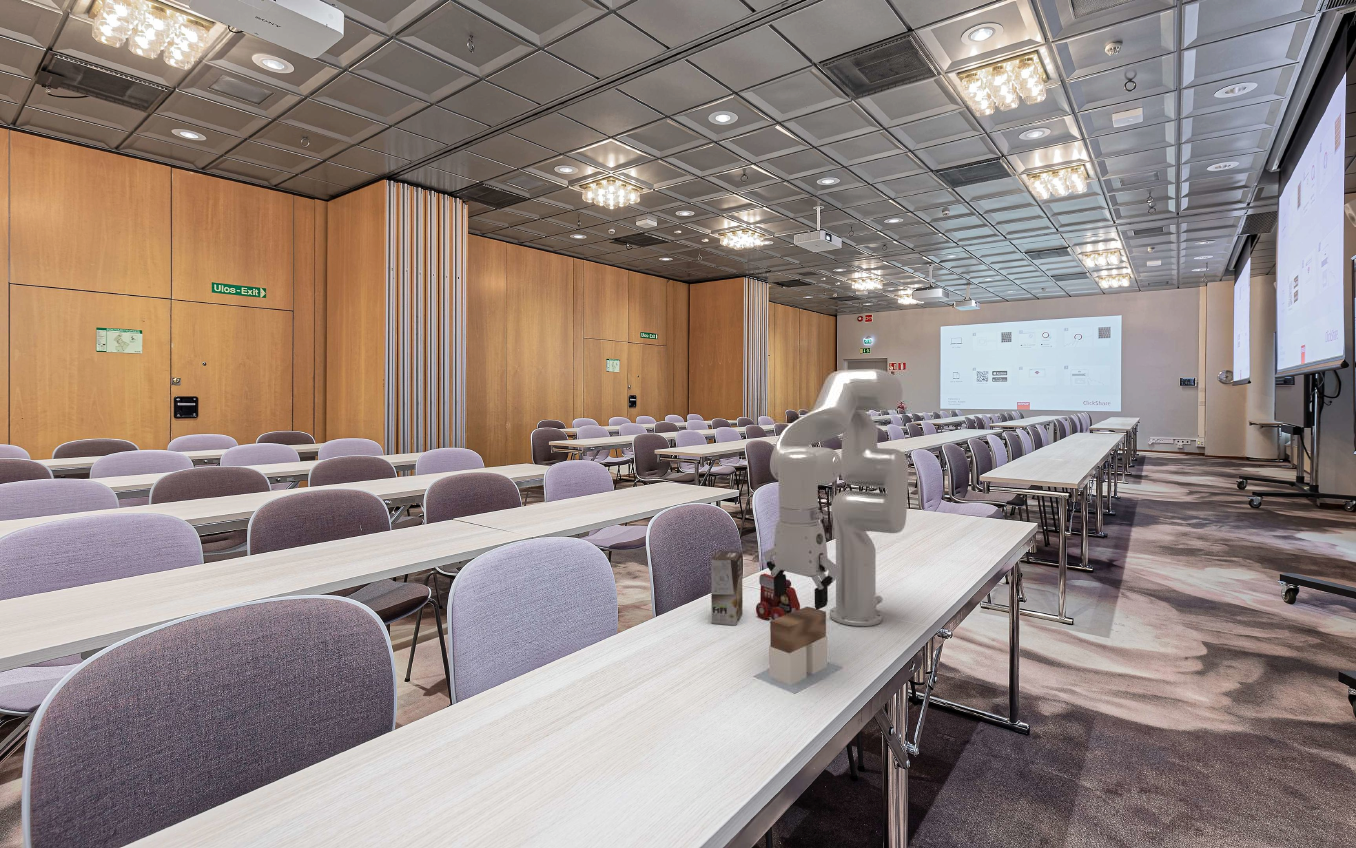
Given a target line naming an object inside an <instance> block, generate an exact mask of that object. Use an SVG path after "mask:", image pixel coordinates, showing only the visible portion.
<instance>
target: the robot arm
mask: <svg viewBox="0 0 1356 848" xmlns="http://www.w3.org/2000/svg"><path fill="white" fill-rule="evenodd" d="M902 398H903V386H902V383H901V381H900V379H899V378H898V377H897V376H896V375H895V374H893V373H892V372H891V373H890V372H888V371H886V370H882V369H877V368H867V369H866V368H864V369H862V368H861V369H860V368H859V369H842V370H841V369H840V370H837V371H834V372H832V373H830V374H829V375H828V376H827V377H826V378H825V381H824V383H823V386H822V388H821V390H820V392H819V395H818V397H817V399H816V402H815V403H814V406H813V408H812V410H811V411H809V412H807V413H805V414H804V415H802V416H800V417H799V418H798V419H796V420H795V421H793V422H792V423H790V424H789V425H788V426H786V427H785V428H784V429H783V430H782V432H780V435H779V437H778V438H777V440H776V443H775V444H774V447H773V449H772V452H771V455H770V460H769V470H770V473H771V476H773V477H774V479H775V480H777V482H778V520H776V524H775V531H774V540H773V541H774V542H773V547H772V548H770V549H768V550H765V551H763V553H762V555H763V558H764V560H765V562H766V563H765V564H766V567H767V568H768V570H769V571H770V575H771V576H772V577H774V596H775V597H780V596H782V595H784V594H786V579H787V575H786V574H785V572H787V573H791V574H796V575H798V576H799V575H800V576H803V577H807V578H811V579H812V581H813V582H814V584H815V586H816V587H815V588H814V591H813V592H814V608H815V609H818V610H821V609H823V608H825V607H827V606H828V601H829V595H828V592H829V591H828V588H829V586H831V585H832V583H833V582H835V606H834V607H832V608H831V609H830V610H829V618H830V619H832V620H833V621H835V622H837V623H838V624H843V625H846V626H853V627H871V626H875V625H878V624H881V622H882V621H883V614H882V613H881V612H880V611H879V610H877V606H878V605H879V604H881V603H882V602H884V601H883V597H882V596H881V595H876V594H877V593H876V591H877V590H876V588H877V587H876V586H877V583H876V581H877V580H876V579H877V578H876V575H877V574H876V569H877V568H876V565H877V564H876V561H877V560H876V557H877V556H876V551H877V550H876V547H875V544H874V542H873V540H872V538H871V537H870V536H869V534H868V533H867V532H873V533H883V534H899V533H901V532H902V531H903V530H904V528H905V526H906V522H907V510H908V487H909V465H908V464H909V463H908V460H907V457H906V455H905V453H904V452H903V451H901V450H899V449H897V448H896V449H895V448H885V447H884V448H880V447H879V448H878V435H879V432H878V431H879V430H878V426H877V424H876V423H875V421H874V420H873V418H872V417H871V416H870V415H869V414H868V413H867V411H894V410H895V409H897V408H898V407H899V406H900V404H901V402H902ZM840 435H842V436H841V437H842V438H841V439H842V440H841V457H840V455H839V453H838V451H836V450H834V449H833V448H828V447H821V446H811V445H813V444H816V443H820V442H823V441H827V440H830V439H833V438H835V437H838V436H840ZM840 476H841V479H842V481H844V483H846V484H848V485H850V486H851V485H852V486H860V487H873V488H875V487H876V488H884V489H885V490H886V492H877V491H876V492H873V491H865V490H863V491H862V490H844V491H841V492H839V493H836V495H835V496H834V497H833V498H832V501H831V515H832V520H833V526H834V534H835V538H834V539H835V562H833V561H832V560H831V559H829V557H828V547H827V540H826V539H827V538H826V533H825V530H824V525H823V523H822V522H819V520H820V521H821V520H823V518H824V515H823V514H824V513H822V512H819V492H818V491H819V489H818V487H819V486H826V485H829V484H832V483H834V482H835V481H837V479H838V478H839V477H840ZM827 572H828V573H827ZM826 573H827V575H826Z"/></svg>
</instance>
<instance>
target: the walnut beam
mask: <svg viewBox="0 0 1356 848" xmlns="http://www.w3.org/2000/svg"><path fill="white" fill-rule="evenodd" d="M769 623H770V628H769V629H770V630H769V632H770V633H769V635H770V639H769V640H770V643H769V644H770V645H769V646H770V647H773V648H776V649H778V650H781V651H784V652H787V653H792V652H794V651H796V650H798V649H800V648H802V647H804V646H807V645H809V644H811V643H813V642H815V641H817V640H819V639H822V638H824V637H827V611H825V610H823V609H822V610H821V609H816V608H815V607H811V606H804V607H802V608H800V609H799V610H797V611H794V612H792V613H789V614H787V615H784V616H782V617H779V618H776V619H774V620H772V619H771V620H770V622H769Z"/></svg>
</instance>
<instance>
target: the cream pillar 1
mask: <svg viewBox="0 0 1356 848" xmlns="http://www.w3.org/2000/svg"><path fill="white" fill-rule="evenodd" d="M768 649H769V650H768V651H769V654H768V656H769V663H768V665H769V668H768V669H769V677H771V678H773V679H776V680H778V681H780V682H783V683H785V684H788V685H790V686H791V685H793V684H795V683H797V682H798V681H800V680H802V679H804V678H806V646H804V647H802V648H800V649H798V650H796V651H794V652H792V653H787V652H784V651H781V650H778V649H776V648H773V647H770V645H768Z"/></svg>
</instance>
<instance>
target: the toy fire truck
mask: <svg viewBox="0 0 1356 848" xmlns="http://www.w3.org/2000/svg"><path fill="white" fill-rule="evenodd" d="M758 579H759V585H760V591H759V592H760V597H759V598H760V599H759V602H758V603H757V604H756V607H755V613H756V615H757V617H758V618H760V619H761V618H762V619H761V620H766V619H768V618H771V620H774V619H776V618H779V617H782V616H784V615H787V614H789V613H792V612H794V611H797V610H799V609H801V605H800V601H799V597H798V595H797V591H796V589H795V588H794V587H792V581H791V580H790V579H787V578H786V594H784V595H782V596H780V597H775V596H774V577H772V576H771V574H768V573H762V574H759V578H758Z"/></svg>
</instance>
